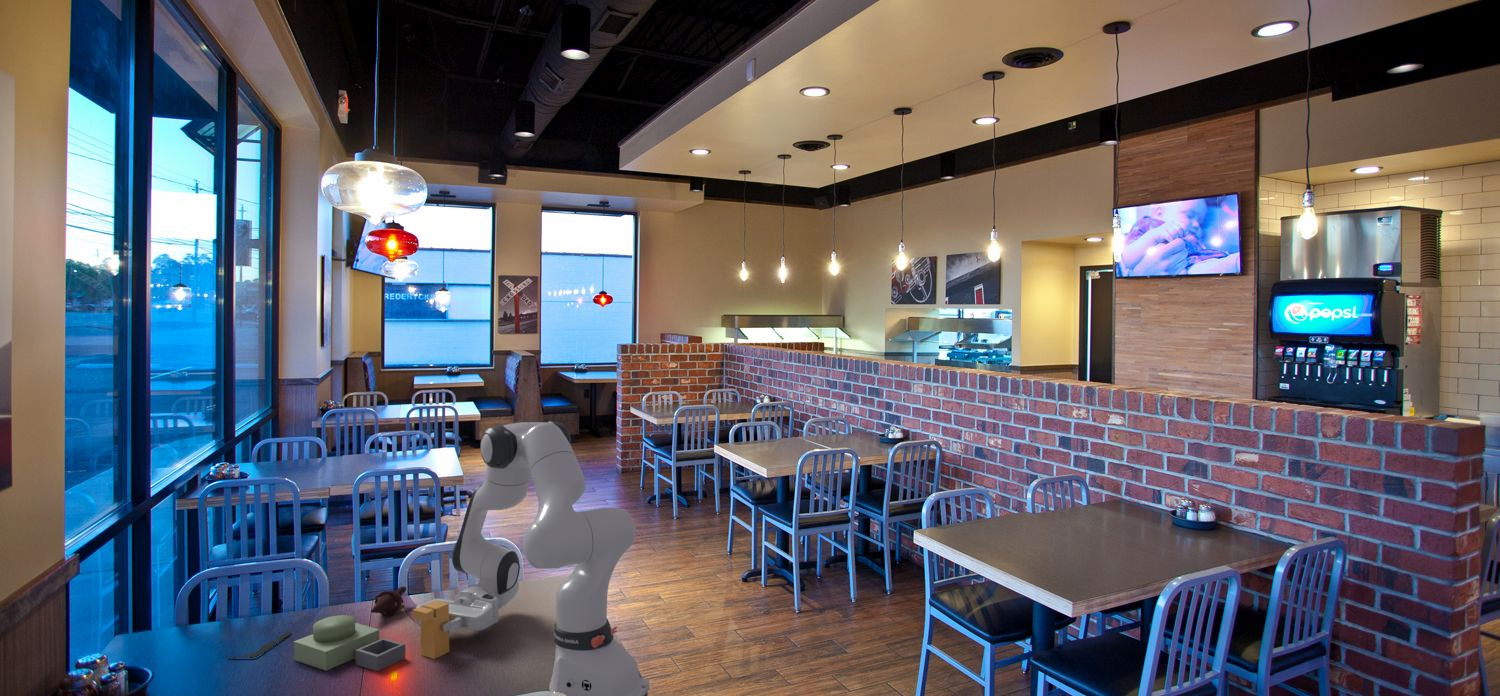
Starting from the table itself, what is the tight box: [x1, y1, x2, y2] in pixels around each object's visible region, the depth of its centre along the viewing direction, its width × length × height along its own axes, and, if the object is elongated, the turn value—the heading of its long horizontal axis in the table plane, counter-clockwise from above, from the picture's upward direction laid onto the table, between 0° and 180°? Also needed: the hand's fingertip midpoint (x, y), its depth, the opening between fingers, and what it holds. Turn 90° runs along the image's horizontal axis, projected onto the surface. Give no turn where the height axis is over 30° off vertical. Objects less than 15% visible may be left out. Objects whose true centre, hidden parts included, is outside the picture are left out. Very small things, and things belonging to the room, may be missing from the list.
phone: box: [227, 631, 292, 658], centre depth 190 cm, size 7×1×15 cm
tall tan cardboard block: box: [412, 600, 450, 660], centre depth 185 cm, size 4×7×12 cm, turn 153°
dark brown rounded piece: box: [370, 585, 407, 617], centre depth 210 cm, size 7×7×15 cm
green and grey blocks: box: [293, 614, 406, 672], centre depth 183 cm, size 23×14×8 cm, turn 63°
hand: (432, 626), depth 185 cm, fingers closed on tall tan cardboard block, 5 cm apart
